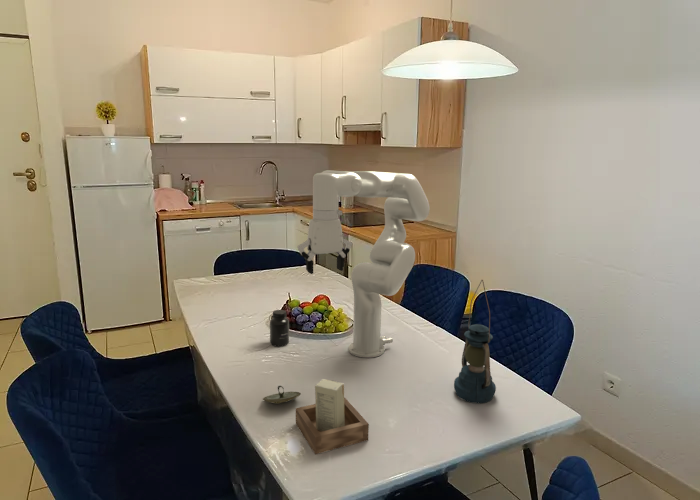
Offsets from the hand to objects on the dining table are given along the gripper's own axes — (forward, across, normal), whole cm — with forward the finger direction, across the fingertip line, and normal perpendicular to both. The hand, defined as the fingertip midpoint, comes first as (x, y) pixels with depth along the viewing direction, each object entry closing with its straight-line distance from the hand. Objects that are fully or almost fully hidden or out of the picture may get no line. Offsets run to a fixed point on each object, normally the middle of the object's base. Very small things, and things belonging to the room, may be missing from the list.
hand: (325, 271), depth 152 cm
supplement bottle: (+34, +6, -28) cm, 44 cm away
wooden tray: (+33, +11, +31) cm, 47 cm away
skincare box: (+32, +11, +31) cm, 46 cm away
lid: (+34, +18, +12) cm, 40 cm away
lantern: (+34, -35, +30) cm, 57 cm away
